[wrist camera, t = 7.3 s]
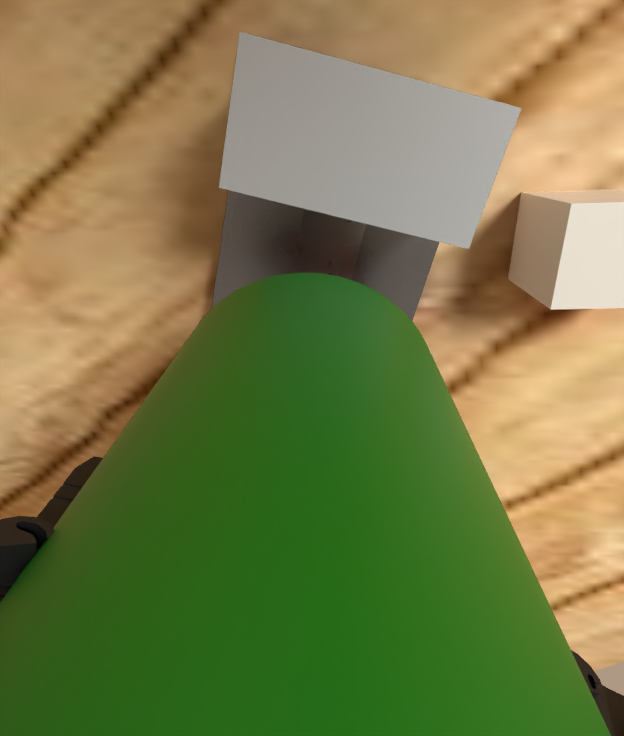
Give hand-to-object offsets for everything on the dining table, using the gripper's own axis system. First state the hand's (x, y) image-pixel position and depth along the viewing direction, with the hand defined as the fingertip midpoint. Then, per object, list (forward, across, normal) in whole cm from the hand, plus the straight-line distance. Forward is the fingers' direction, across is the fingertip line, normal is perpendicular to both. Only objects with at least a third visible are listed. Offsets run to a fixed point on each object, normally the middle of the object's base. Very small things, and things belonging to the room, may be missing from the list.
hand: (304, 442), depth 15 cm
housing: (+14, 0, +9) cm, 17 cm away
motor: (+4, 0, 0) cm, 4 cm away
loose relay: (+16, +14, +7) cm, 23 cm away
